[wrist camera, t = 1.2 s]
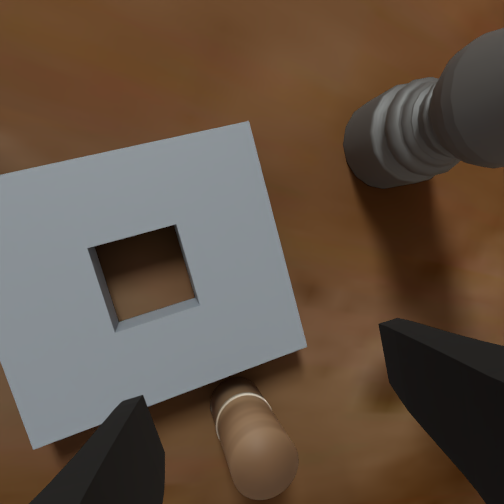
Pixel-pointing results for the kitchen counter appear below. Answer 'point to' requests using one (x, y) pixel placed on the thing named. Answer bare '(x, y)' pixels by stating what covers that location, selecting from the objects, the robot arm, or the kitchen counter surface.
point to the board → (96, 291)
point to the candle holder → (433, 121)
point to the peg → (252, 440)
